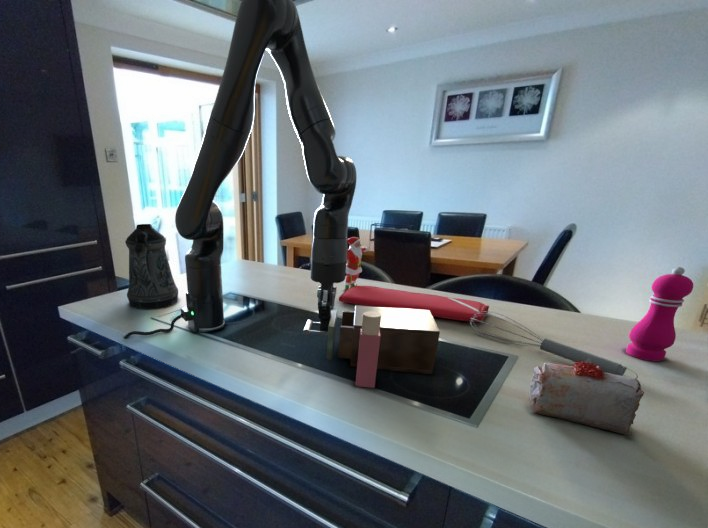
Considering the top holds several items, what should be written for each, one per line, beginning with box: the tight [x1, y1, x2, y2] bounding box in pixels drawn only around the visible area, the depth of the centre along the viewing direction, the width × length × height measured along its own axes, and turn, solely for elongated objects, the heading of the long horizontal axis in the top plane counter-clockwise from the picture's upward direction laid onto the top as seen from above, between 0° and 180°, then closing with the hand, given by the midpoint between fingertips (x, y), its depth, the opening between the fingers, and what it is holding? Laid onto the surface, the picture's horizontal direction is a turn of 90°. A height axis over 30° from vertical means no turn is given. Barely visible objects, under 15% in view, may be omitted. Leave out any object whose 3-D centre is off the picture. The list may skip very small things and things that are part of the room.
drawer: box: [302, 308, 355, 361], centre depth 88 cm, size 21×12×8 cm, turn 76°
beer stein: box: [124, 223, 179, 310], centre depth 124 cm, size 16×19×25 cm
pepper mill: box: [625, 266, 694, 362], centre depth 83 cm, size 7×7×20 cm
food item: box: [529, 359, 645, 436], centre depth 64 cm, size 14×8×10 cm, turn 57°
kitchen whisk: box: [469, 310, 639, 380], centre depth 88 cm, size 6×34×6 cm, turn 33°
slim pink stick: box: [355, 311, 381, 389], centre depth 74 cm, size 4×3×15 cm
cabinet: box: [349, 305, 441, 375], centre depth 86 cm, size 17×14×10 cm
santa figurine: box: [343, 236, 370, 292], centre depth 136 cm, size 25×6×19 cm, turn 140°
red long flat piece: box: [338, 285, 490, 324], centre depth 120 cm, size 16×41×4 cm, turn 54°
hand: (324, 333), depth 90 cm, fingers closed
